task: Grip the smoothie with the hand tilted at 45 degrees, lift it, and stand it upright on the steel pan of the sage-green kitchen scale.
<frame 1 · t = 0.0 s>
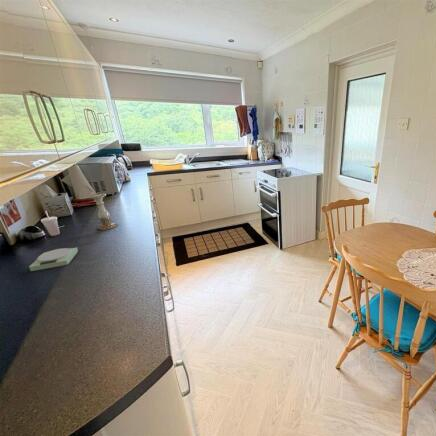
smoothie: (55, 234, 129), on the countertop
scale: (56, 260, 104), on the countertop
candle holder: (107, 227, 138), on the countertop
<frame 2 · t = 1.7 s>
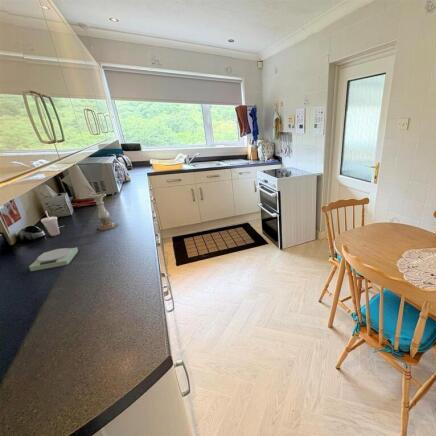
nothing on the countertop moved.
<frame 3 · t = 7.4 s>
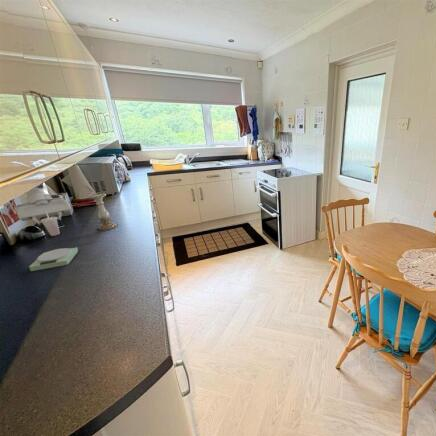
hand: (50, 222, 125), 8 cm above the countertop, tool tilted 45°, fingers closed on smoothie, 6 cm apart
smoothie: (55, 234, 129), on the countertop, touching gripper
everything else where it was.
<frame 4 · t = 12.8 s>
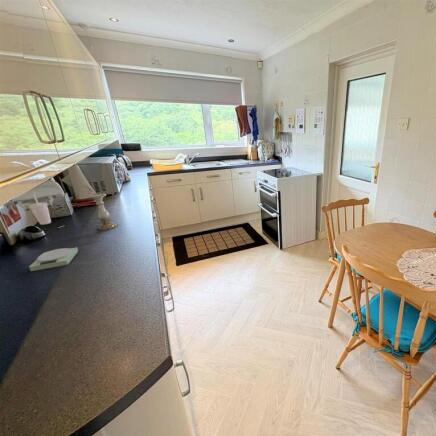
hand: (39, 207, 106), 21 cm above the countertop, tool tilted 45°, fingers closed on smoothie, 6 cm apart
smoothie: (45, 223, 110), point 13 cm above the countertop, touching gripper
everything else where it was.
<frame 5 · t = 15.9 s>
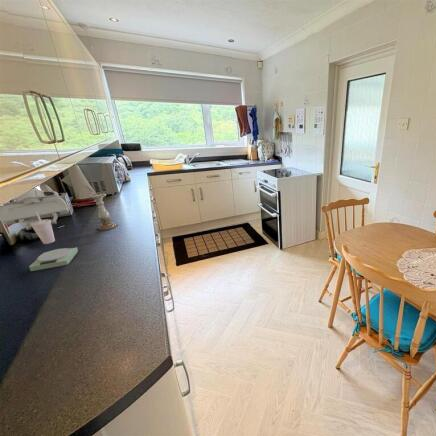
hand: (42, 226, 98), 17 cm above the countertop, tool tilted 45°, fingers closed on smoothie, 6 cm apart
smoothie: (49, 242, 101), point 9 cm above the countertop, touching gripper
everything else where it was.
when the fingers open (11 cm above the countertop, at t = 18.2 s): smoothie stays where it is, resting on scale.
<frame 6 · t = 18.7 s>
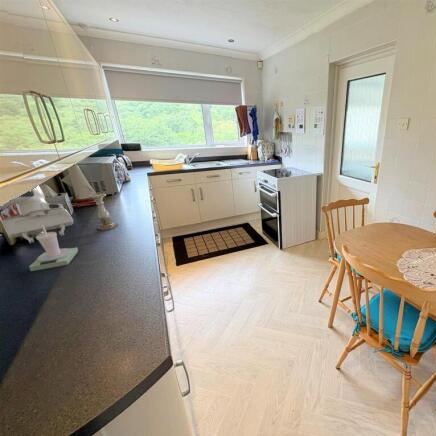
hand: (47, 238, 100), 11 cm above the countertop, tool tilted 45°, fingers open, 8 cm apart
smoothie: (54, 254, 104), point 3 cm above the countertop, touching scale
everything else where it was.
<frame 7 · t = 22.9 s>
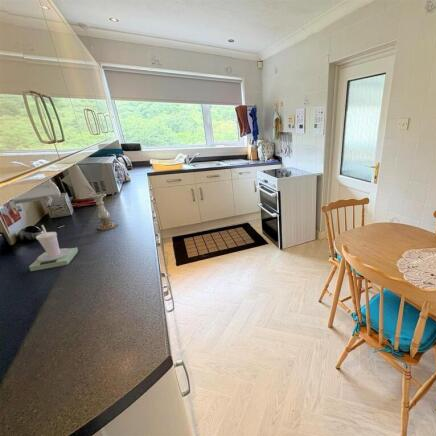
hand: (34, 208, 104), 22 cm above the countertop, tool tilted 45°, fingers open, 8 cm apart
nothing on the countertop moved.
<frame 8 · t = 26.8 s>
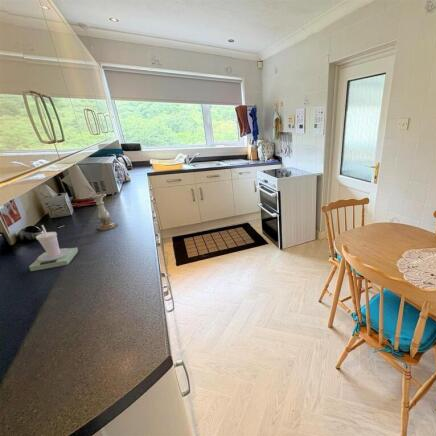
nothing on the countertop moved.
at the end: smoothie inside the target area on the scale (0.1 cm from its centre), point 2.8 cm above the scale's base; smoothie tilted 0°; the gripper is holding nothing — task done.
